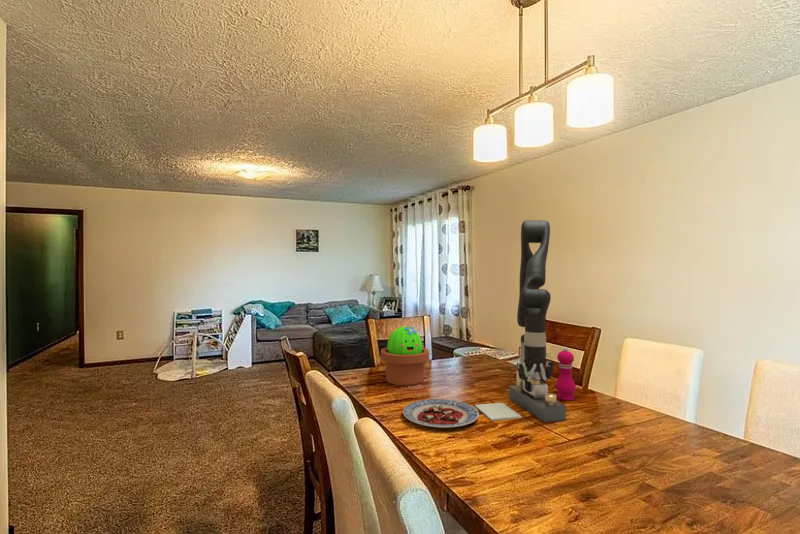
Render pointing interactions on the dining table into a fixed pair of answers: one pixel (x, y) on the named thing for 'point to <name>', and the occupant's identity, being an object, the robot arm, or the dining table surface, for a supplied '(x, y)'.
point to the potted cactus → (404, 357)
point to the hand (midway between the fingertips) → (535, 390)
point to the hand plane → (537, 403)
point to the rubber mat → (497, 411)
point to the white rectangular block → (537, 387)
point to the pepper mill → (565, 376)
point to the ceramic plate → (440, 413)
